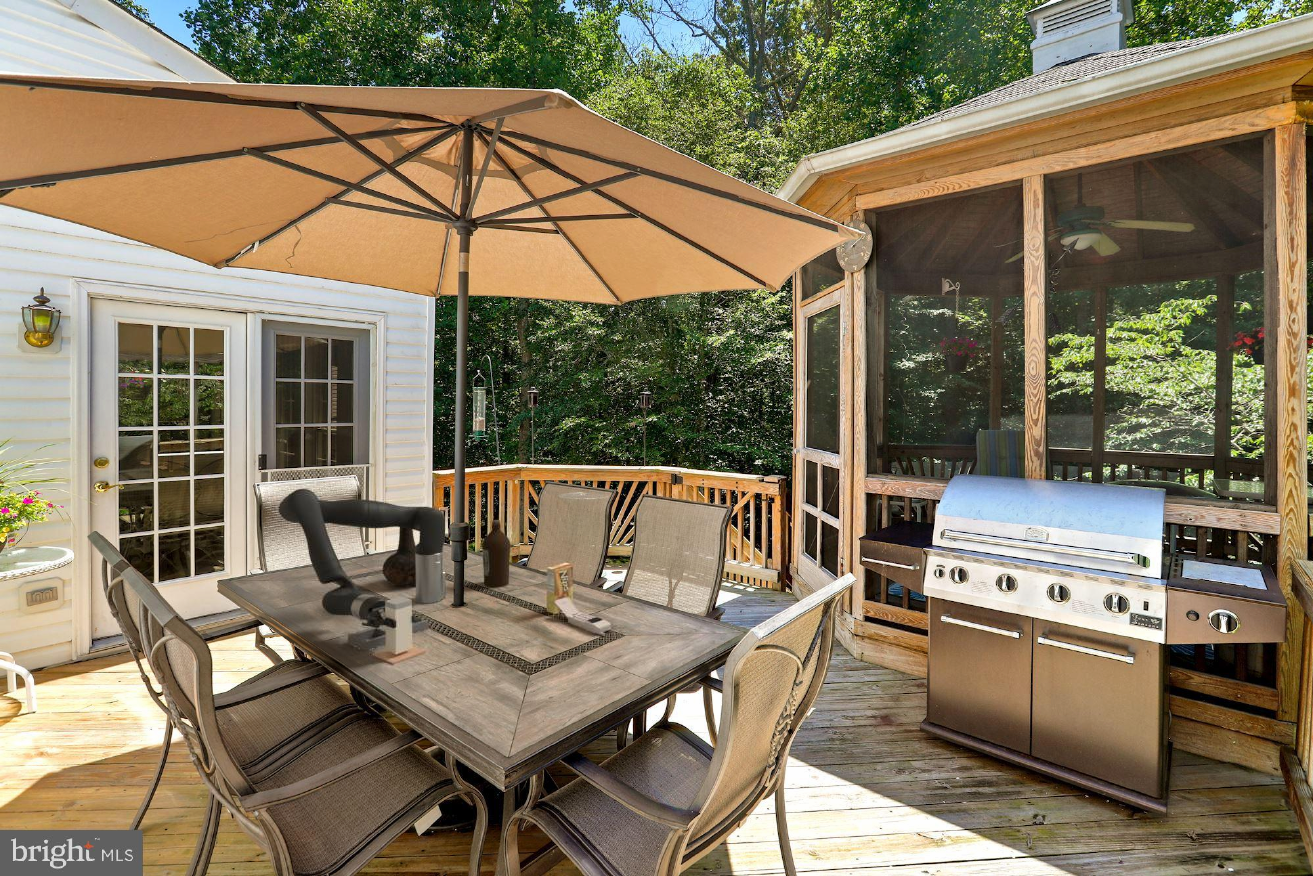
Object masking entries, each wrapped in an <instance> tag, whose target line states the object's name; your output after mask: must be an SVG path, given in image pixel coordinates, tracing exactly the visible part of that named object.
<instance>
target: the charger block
mask: <svg viewBox="0 0 1313 876" xmlns="http://www.w3.org/2000/svg"><path fill="white" fill-rule="evenodd" d="M412 601H413V600H412V599H411V598H406V597H404V596H399V597H394V598H392V599H388V600H386V601H385V616H387V618H391V619H394V620H396V628H391V627H388V626H385V629H386V645H385V649H386V650H387V651H389V652H392V653H394V654H398V653H401V652H404V651H407V650H410V649H412V646H413V634H412V614H413V602H412Z"/></svg>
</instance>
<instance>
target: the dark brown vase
mask: <svg viewBox="0 0 1313 876" xmlns="http://www.w3.org/2000/svg"><path fill="white" fill-rule="evenodd" d="M398 535H399V537H398V545H397V549H396V552H395V553H393V554H391V555H390V556H387V558H386V559H385V560H384V562H383V565H382V575H383V576H384V578H385V579H386V580H387V581H388V582H389V583H390V584H392V585H393V586H396V587H397V586H398V587H412V586H416V565H415V547H416V545H417V544H416V542H415V538H414V530H413V529H408V528H403V527H399V534H398Z"/></svg>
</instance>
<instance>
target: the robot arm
mask: <svg viewBox="0 0 1313 876" xmlns="http://www.w3.org/2000/svg"><path fill="white" fill-rule="evenodd" d="M278 512H279V515H280V516H281V518H282V519H284V520H285V521H286V522H289V523H293V524H300V526H301V528H302V530H303V534H304V535H305V539H306V543H307V549H308V555H309V559H310V562H311V565H312V566H311V567H312V568H313V570H314V573H315V574H316V576H317V579H318V581H319V583H320V584H321V585H327V584H332V583H336V584H337V585H339V586H338V587H336V588H334V589H332V590H329V591H327V592H326V593H324V595H323V597H322V600H321V606H322V607H323V609H324V610H325V611H326V613H329V614H330V615H334V616H351V617H353V618H356V619H358V620H359V621H361V626H363V627H369V628H379V627H381V626H382V628H384V627H385V628H386V626H388V627H391V628H396V620H394V619H391V618H387V616H385V601H387V600H386V599H384V598H381V597H378V596H375V595H373V594H367V593H364V592H361V591H360V589H359V587H358V586H357V585H356V584H355V583H354V582H353V580H352V579H351V578H350V577H349V576H348V574H347V573H346V572H345V570H344V568H343V567H342V564H341V563H340V560H339V558H338V556H337V554H336V552H335V549H334V547H333V544H332V541H331V539H330V536H329V533H328V530H327V528H326V524H332V525H336V526H337V525H338V526H339V525H340V526H347V527H355V528H364V529H385V528H387V529H388V528H400V527H403V528H408V529H413V531H417V532H419V541H418V543H417V544H415V545H416V547H415V565H416V585H415V602H416V603H419V604H433V602H434V603H437V602H436V601H438V602H441V601H442V600H443V599H445V598H444V597H446V596H447V595H446V593H447V592H446V591H447V590H446V588H447V587H446V572H445V571H444V558H443V557H444V556H443V555H444V554H443V551H444V550H443V548H444V545H445V543H446V542H445V540H446V519H445V515H444V513H443V512H442V511H441V510H439V509H438V508H434V507H430V506H404V505H396V504H393V503H389V502H384V501H378V500H371V499H361V498H360V499H359V498H355V499H354V498H353V499H343V500H322V499H319V498H318V496H317V494H316V493H314V491H312V490H310V489H307V488H298V489H296V490H294V491H292V492H291V493H290V494H288V495H286V496H285V497H284V498H283V499H282V500H281V502H280V503H279V505H278ZM446 598H447V597H446ZM441 599H442V600H441ZM415 617H416V616H415V614H413V613H412V622H414V620H415Z"/></svg>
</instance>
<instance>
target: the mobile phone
mask: <svg viewBox="0 0 1313 876" xmlns="http://www.w3.org/2000/svg"><path fill="white" fill-rule="evenodd" d="M555 603H556V604H557V605H558V607H559V608H560V609H561V612H562V613H563V614H564V615H565V617H566V618H567V621H568V623H569V624H570V623H571V624H570V625H573V626H575V625H576V626H575V627H577V626H578V628H580V629H582V628H583V629H582V630H584V629H586V630H585V631H588V632H589V631H590V633H592V634H597V635H599V636H603V637H605V636H606V633H605V632H607V631H610V630H611V629H612V628H611V622H610V621H608V620H606V619H605V618H602V617H599V616H593V615H591V614H587V613H585V612H583V611H580V610H579V608H578V607H577V606H576V605H575V603H574V602H573V601H571V599H569V598H568V597H567V598H562V599H559V600H556V601H555Z"/></svg>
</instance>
